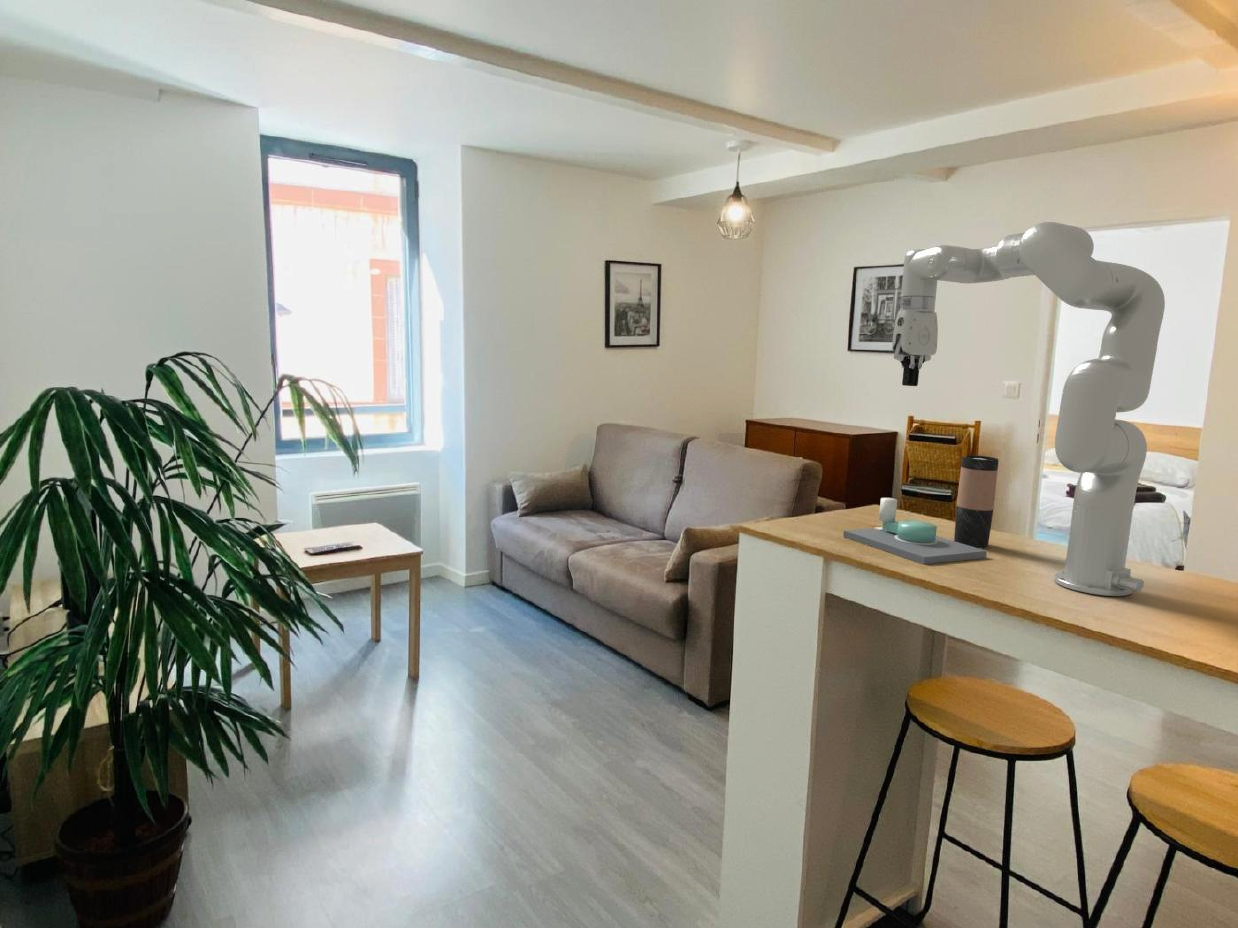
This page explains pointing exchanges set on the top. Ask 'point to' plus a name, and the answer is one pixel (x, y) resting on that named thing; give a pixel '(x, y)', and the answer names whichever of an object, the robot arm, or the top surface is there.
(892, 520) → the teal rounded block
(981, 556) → the base plate
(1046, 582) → the top surface
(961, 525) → the travel mug
